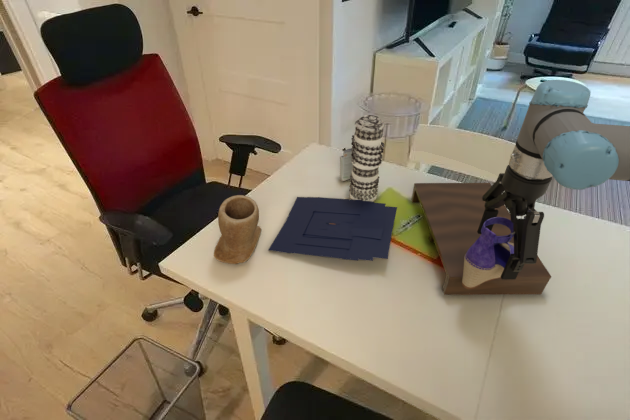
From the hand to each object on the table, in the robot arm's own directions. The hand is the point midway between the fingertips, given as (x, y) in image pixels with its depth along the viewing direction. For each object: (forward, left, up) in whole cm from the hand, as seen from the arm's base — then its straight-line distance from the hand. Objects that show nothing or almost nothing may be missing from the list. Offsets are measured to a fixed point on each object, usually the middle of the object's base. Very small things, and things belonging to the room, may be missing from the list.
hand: (494, 254), depth 80 cm
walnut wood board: (+11, -11, -10) cm, 18 cm away
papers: (+36, +13, -10) cm, 39 cm away
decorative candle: (+43, -5, -10) cm, 44 cm away
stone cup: (+48, +35, -10) cm, 60 cm away
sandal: (0, 0, -4) cm, 4 cm away
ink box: (+52, -11, -10) cm, 54 cm away
